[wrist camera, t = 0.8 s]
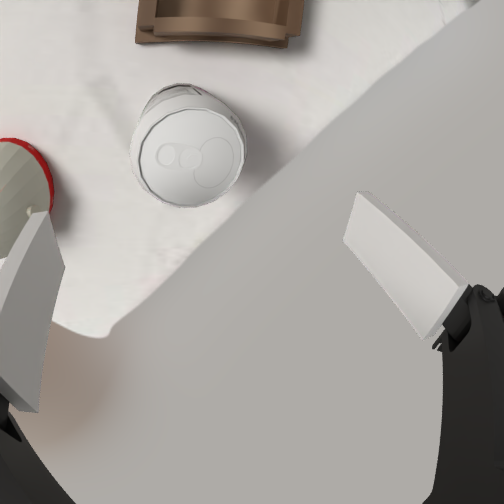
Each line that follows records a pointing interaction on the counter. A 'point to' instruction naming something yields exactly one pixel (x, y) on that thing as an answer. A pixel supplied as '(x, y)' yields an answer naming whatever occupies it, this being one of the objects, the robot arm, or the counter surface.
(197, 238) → the counter surface
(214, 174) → the supplement can
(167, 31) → the brown square open box
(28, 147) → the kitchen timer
